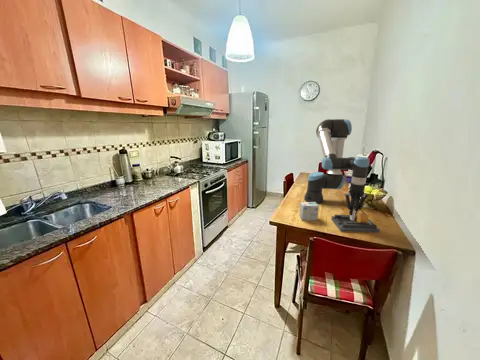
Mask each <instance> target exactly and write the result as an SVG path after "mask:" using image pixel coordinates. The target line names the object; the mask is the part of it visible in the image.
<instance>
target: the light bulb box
mask: <svg viewBox="0 0 480 360" xmlns="http://www.w3.org/2000/svg"><path fill="white" fill-rule="evenodd" d="M299 204H300V205H299V215H298V217H299V216H300V217H299V219H300V220H301V221H318V219H319V209H320V208H319V207H320V205H319V203H316V202H307V201H304V202H303V201H302V202H300V203H299Z"/></svg>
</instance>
